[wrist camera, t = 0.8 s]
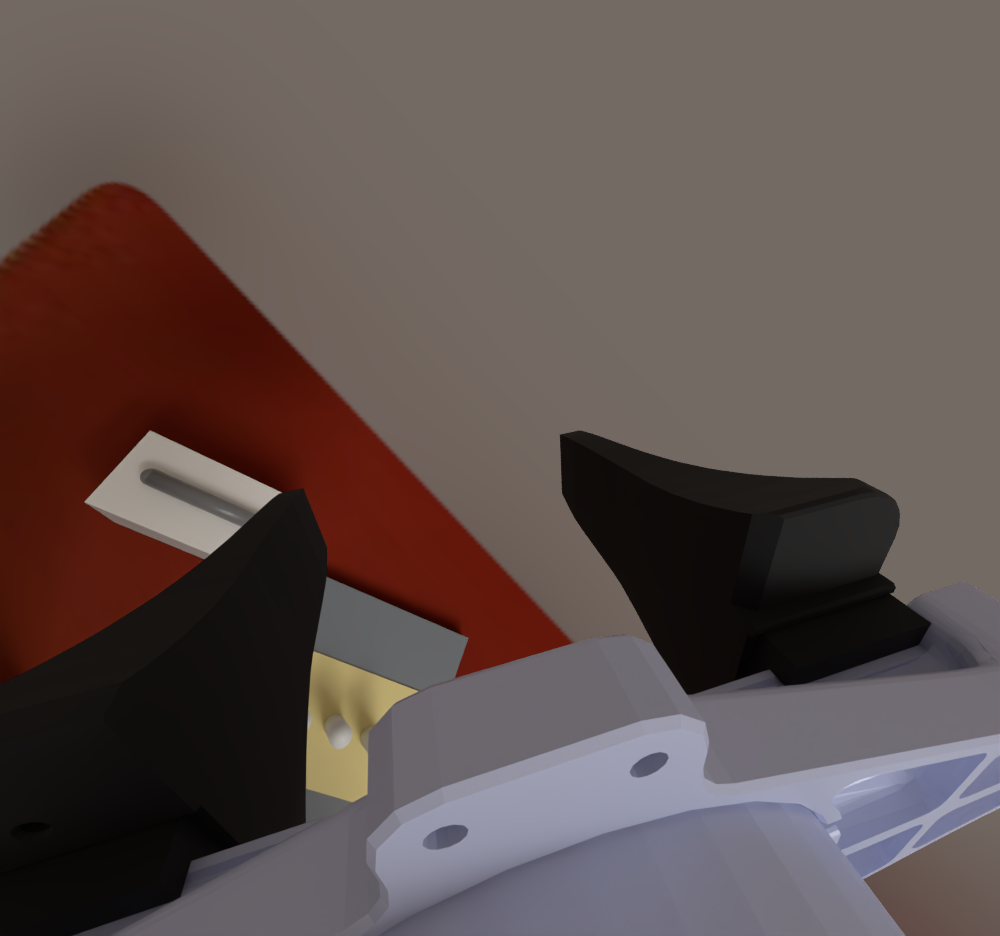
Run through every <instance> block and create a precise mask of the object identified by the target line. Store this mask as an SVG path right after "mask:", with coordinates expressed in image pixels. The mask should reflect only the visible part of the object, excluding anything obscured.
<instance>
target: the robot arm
mask: <svg viewBox="0 0 1000 936" xmlns="http://www.w3.org/2000/svg"><path fill="white" fill-rule="evenodd" d="M560 448H561V475H562V494H563V496H564V498H565V500H566V502H567V504H568V506H569V508H570V510H571V512H572V514H573V516H574V518H575V519H576V521H577V522H578V524H579V525H580V527H581V528H582V530H583V531H584V532H585V534H586V535H587V536H588V538H589V539H590V541H591V542H592V543H593V545H594V546H595V548H596V549H597V551H598V552H599V553H600V555H601V556H602V557H603V559H604V560H605V562H606V563H607V564H608V566H609V567H610V569H611V570H612V571H613V573H614V574H615V576H616V577H617V579H618V580H619V582H620V583H621V585H622V587H623V588H624V590H625V592H626V594H627V596H628V597H629V599H630V601H631V602H632V604H633V606H634V608H635V610H636V612H637V614H638V615H639V617H640V619H641V621H642V623H643V625H644V627H645V629H646V631H647V633H648V634H649V636H650V638H651V640H652V642H653V644H654V645H652V644H649V643H647V642H645V641H643V640H641V639H639V638H636V637H634V636H632V635H624V634H623V635H614V636H604V637H595V638H590V639H587V640H583V641H580V642H577V643H573V644H570V645H566V646H563V647H560V648H556V649H553V650H550V651H546V652H543V653H539V654H536V655H533V656H529V657H526V658H522V659H519V660H516V661H512V662H509V663H505V664H502V665H499V666H495V667H492V668H488V669H485V670H482V671H478V672H475V673H472V674H468V675H465V676H461V677H458V678H455V679H451V680H448V681H444V682H441V683H438V684H434V685H431V686H429V687H427V688H425V689H422V690H420V691H418V692H416V693H414V694H412V695H410V696H408V697H406V698H404V699H402V700H400V701H398V702H396V703H395V704H394V705H393V706H392V707H391V708H390V709H389V710H388V711H387V712H386V713H385V714H384V716H383V717H382V718H381V719H380V720H379V721H378V722H377V723H376V725H375V726H374V727H373V728H372V729H371V730H370V731H369V739H368V789H367V795H365V796H363V797H362V798H360V799H358V800H356V801H354V802H353V803H351V804H349V805H347V806H345V807H343V808H342V809H340V810H338V811H336V812H334V813H333V814H331V815H328V816H325V817H322V818H319V819H316V820H313V821H310V822H307V823H306V756H307V729H308V706H309V691H310V676H311V666H312V659H313V652H314V646H315V641H316V636H317V630H318V625H319V619H320V614H321V608H322V603H323V597H324V591H325V585H326V578H327V546H326V544H325V541H324V539H323V536H322V534H321V531H320V529H319V527H318V524H317V522H316V519H315V517H314V514H313V512H312V509H311V507H310V504H309V502H308V499H307V497H306V494H305V492H304V489H298V490H294V491H289V492H284V493H279V494H278V495H276V496H275V497H274V498H273V499H271V500H270V501H269V502H268V503H267V504H266V505H265V506H263V507H262V508H261V509H260V510H259V511H258V512H257V513H256V514H255V515H254V516H253V517H252V518H251V519H249V520H248V521H247V522H246V523H245V524H244V525H243V526H242V527H241V528H240V529H239V530H238V531H236V532H235V533H234V534H233V535H232V536H231V537H230V538H229V539H228V540H227V541H225V542H224V543H223V544H222V545H221V546H219V547H218V548H217V549H216V550H215V551H214V552H212V553H211V554H210V555H209V556H208V557H207V558H205V559H204V560H203V561H202V562H201V563H200V564H198V565H197V566H196V567H195V568H193V569H192V570H191V571H189V572H188V573H187V574H186V575H184V576H183V577H182V578H180V579H179V580H178V581H176V582H175V583H173V584H172V585H171V586H169V587H168V588H166V589H165V590H164V591H162V592H161V593H159V594H158V595H157V596H155V597H154V598H152V599H151V600H149V601H148V602H146V603H145V604H143V605H141V606H140V607H138V608H137V609H135V610H133V611H132V612H130V613H129V614H127V615H126V616H124V617H122V618H121V619H119V620H118V621H116V622H114V623H113V624H111V625H110V626H108V627H106V628H105V629H103V630H101V631H100V632H98V633H96V634H95V635H93V636H91V637H89V638H88V639H86V640H84V641H82V642H81V643H79V644H77V645H75V646H73V647H72V648H70V649H68V650H66V651H64V652H62V653H61V654H59V655H57V656H55V657H53V658H51V659H49V660H48V661H46V662H44V663H42V664H40V665H38V666H36V667H34V668H32V669H30V670H28V671H26V672H24V673H22V674H20V675H18V676H16V677H14V678H12V679H10V680H8V681H6V682H4V683H2V684H0V936H905V935H904V933H903V932H902V931H901V929H900V928H899V927H898V925H897V924H896V923H895V921H894V920H893V919H892V917H891V916H890V915H889V914H888V912H887V911H886V909H885V908H884V907H883V905H882V904H881V903H880V902H879V900H878V899H877V897H876V896H875V895H874V894H873V892H872V891H871V889H870V888H869V887H868V886H867V884H866V883H865V881H864V880H863V879H864V878H866V877H868V876H870V875H872V874H874V873H876V872H877V871H879V870H881V869H883V868H885V867H887V866H889V865H890V864H893V863H894V862H896V861H898V860H900V859H902V858H904V857H906V856H907V855H910V854H911V853H913V852H915V851H917V850H919V849H921V848H923V847H925V846H926V845H928V844H930V843H932V842H934V841H936V840H938V839H940V838H942V837H943V836H945V835H947V834H949V833H951V832H953V831H955V830H957V829H959V828H961V827H963V826H965V825H967V824H969V823H971V822H973V821H975V820H976V819H978V818H980V817H982V816H984V815H986V814H988V813H990V812H992V811H995V810H997V809H999V808H1000V601H999V600H997V599H996V598H994V597H992V596H990V595H989V594H987V593H985V592H984V591H982V590H980V589H979V588H977V587H975V586H974V585H972V584H970V583H968V582H959V583H956V584H953V585H950V586H947V587H944V588H940V589H937V590H934V591H931V592H928V593H925V594H922V595H920V596H918V597H916V598H915V599H913V600H912V601H911V602H910V603H909V604H908V605H907V606H906V605H905V604H903V603H902V602H900V601H899V600H898V599H896V598H895V597H894V596H892V595H891V594H890V593H893V592H894V590H895V588H896V587H895V585H894V583H893V582H892V581H890V580H889V579H887V578H886V577H884V576H883V575H881V574H880V573H879V571H880V569H881V566H882V564H883V562H884V560H885V558H886V556H887V554H888V552H889V549H890V547H891V545H892V543H893V541H894V539H895V536H896V533H897V530H898V527H899V518H900V513H899V508H898V506H897V503H896V501H895V500H894V499H893V498H892V497H890V496H889V495H888V494H886V493H884V492H882V491H880V490H878V489H876V488H874V487H872V486H870V485H868V484H866V483H865V482H862V481H860V480H858V479H855V478H793V477H777V476H763V475H753V474H743V473H735V472H729V471H721V470H715V469H709V468H704V467H699V466H695V465H690V464H685V463H680V462H677V461H673V460H669V459H665V458H662V457H659V456H655V455H652V454H649V453H645V452H642V451H639V450H636V449H633V448H630V447H628V446H625V445H622V444H619V443H616V442H614V441H611V440H608V439H605V438H603V437H600V436H597V435H594V434H591V433H587V432H584V431H575V432H571V433H566V434H561V435H560ZM654 646H655V647H654Z"/></svg>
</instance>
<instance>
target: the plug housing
mask: <svg viewBox="0 0 1000 936" xmlns="http://www.w3.org/2000/svg"><path fill="white" fill-rule="evenodd" d="M279 493H282V492H279V491H277V490H275V489H273V488H271V487H269V486H267V485H265V484H263V483H260V482H258V481H256V480H254V479H252V478H250V477H248V476H246V475H243V474H241V473H239V472H237V471H235V470H233V469H231V468H229V467H227V466H224V465H222V464H220V463H218V462H216V461H214V460H212V459H210V458H207V457H205V456H203V455H201V454H199V453H197V452H195V451H193V450H190V449H188V448H186V447H184V446H182V445H180V444H178V443H176V442H174V441H171V440H169V439H167V438H165V437H163V436H161V435H159V434H157V433H154V432H152V431H149V432H148V433H147V434H146V435H145V436H144V438H143V439H142V440H141V441H140V442H139V443H138V444H137V445H136V446H135V447H134V448H133V450H132V451H131V452H130V453H129V454H128V455H127V456H126V457H125V458H124V459H123V460H122V462H121V463H120V464H119V465H118V466H117V467H116V468H115V469H114V470H113V471H112V472H111V474H110V475H109V476H108V477H107V478H106V479H105V480H104V481H103V482H102V483H101V484H100V486H99V487H98V488H97V489H96V490H95V491H94V492H93V493H92V494H91V495H90V496H89V498H88V499H87V500H86V501H85V503H87V504H88V505H90V506H91V507H93V508H94V509H96V510H97V511H98V512H100V513H101V514H103V515H104V516H106V517H107V518H109V519H110V520H112V521H113V522H115V523H117V524H120V525H122V526H125V527H127V528H130V529H132V530H134V531H137V532H139V533H142V534H144V535H147V536H149V537H151V538H154V539H156V540H159V541H161V542H164V543H166V544H168V545H171V546H173V547H176V548H178V549H181V550H183V551H185V552H188V553H190V554H193V555H195V556H198V557H200V558H202V559H205V558H207V557H208V556H209V555H210V554H211V553H212V552H214V551H215V550H216V549H217V548H218V547H219V546H221V545H222V544H223V543H224V542H225V541H227V540H228V539H229V538H230V537H231V536H232V535H233V534H234V533H235V532H236V531H238V530H239V529H240V528H241V527H242V526H243V525H244V524H245V523H246V522H247V521H248V520H249V519H251V518H252V517H253V516H254V515H255V514H256V513H257V512H258V511H259V510H260V509H261V508H262V507H263V506H265V505H266V504H267V503H268V502H269V501H270V500H271V499H273V498H274V497H275V496H276V495H278V494H279Z"/></svg>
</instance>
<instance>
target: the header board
mask: <svg viewBox="0 0 1000 936" xmlns="http://www.w3.org/2000/svg"><path fill="white" fill-rule="evenodd" d="M467 640H468V638H467V637H465V636H462V635H460V634H458V633H455V632H453V631H451V630H448V629H446V628H444V627H441V626H439V625H437V624H435V623H432V622H430V621H428V620H425V619H423V618H421V617H418V616H416V615H414V614H411V613H409V612H407V611H404V610H402V609H400V608H397V607H395V606H393V605H391V604H388V603H386V602H384V601H381V600H379V599H377V598H374V597H372V596H370V595H367V594H365V593H363V592H360V591H358V590H356V589H353V588H351V587H349V586H347V585H344V584H342V583H340V582H337V581H335V580H333V579H330V578H328V577H327V578H326V585H325V591H324V597H323V603H322V608H321V614H320V619H319V625H318V630H317V636H316V641H315V646H314V652H313V659H312V666H311V676H310V691H309V706H308V729H307V756H306V823H307V822H310V821H313V820H316V819H319V818H322V817H325V816H328V815H331V814H333V813H334V812H336V811H338V810H340V809H342V808H343V807H345V806H347V805H349V804H351V803H353V802H354V801H356V800H358V799H360V798H362V797H363V796H365V795H367V789H368V739H369V731H370V730H371V729H372V728H373V727H374V726H375V725H376V723H377V722H378V721H379V720H380V719H381V718H382V717H383V716H384V714H385V713H386V712H387V711H388V710H389V709H390V708H391V707H392V706H393V705H394V704H395V703H396V702H398V701H400V700H402V699H404V698H406V697H408V696H410V695H412V694H414V693H416V692H418V691H420V690H422V689H425V688H427V687H429V686H431V685H434V684H438V683H441V682H444V681H448V680H451V679H454V678H455V675H456V672H457V669H458V666H459V663H460V661H461V658H462V655H463V652H464V649H465V646H466V643H467Z"/></svg>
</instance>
